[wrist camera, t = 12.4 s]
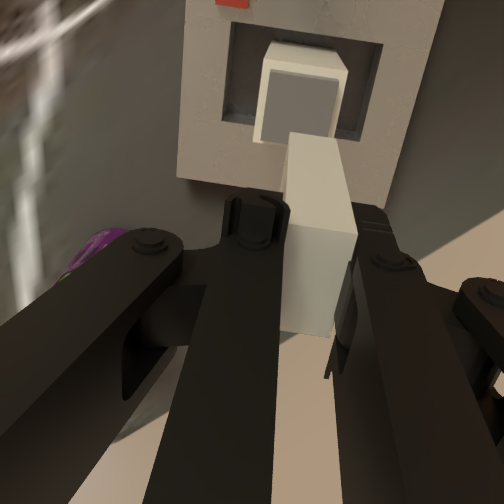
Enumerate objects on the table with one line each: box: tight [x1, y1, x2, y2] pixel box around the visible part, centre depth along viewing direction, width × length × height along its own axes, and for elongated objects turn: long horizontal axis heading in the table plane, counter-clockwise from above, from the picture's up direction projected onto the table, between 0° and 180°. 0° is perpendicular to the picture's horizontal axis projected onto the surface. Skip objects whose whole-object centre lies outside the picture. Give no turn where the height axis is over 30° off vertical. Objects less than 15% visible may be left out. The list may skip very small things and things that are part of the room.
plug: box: [253, 40, 348, 147], centre depth 30 cm, size 4×4×11 cm
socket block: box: [176, 0, 445, 209], centre depth 33 cm, size 16×16×4 cm
